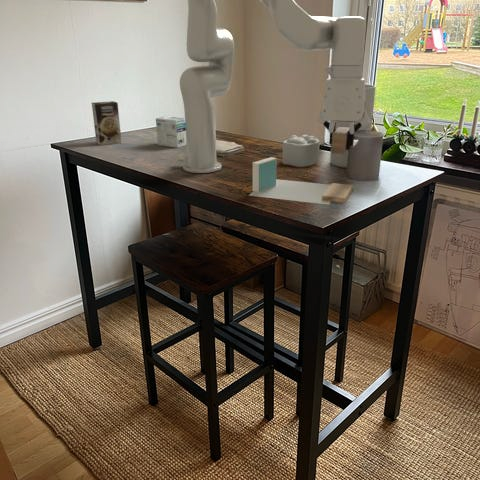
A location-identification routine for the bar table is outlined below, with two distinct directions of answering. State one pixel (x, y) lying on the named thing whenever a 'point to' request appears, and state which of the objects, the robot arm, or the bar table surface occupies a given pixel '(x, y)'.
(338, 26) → the robot arm
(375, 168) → the pillar candle
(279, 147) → the bar table surface
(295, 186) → the mat
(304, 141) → the lumpy-topped squat cylinder
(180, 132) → the light bulb box
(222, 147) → the washcloth
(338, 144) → the light wood block
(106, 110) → the coffee box
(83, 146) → the bar table surface
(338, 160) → the cylinder vase
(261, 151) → the bar table surface
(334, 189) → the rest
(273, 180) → the tile
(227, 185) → the bar table surface
